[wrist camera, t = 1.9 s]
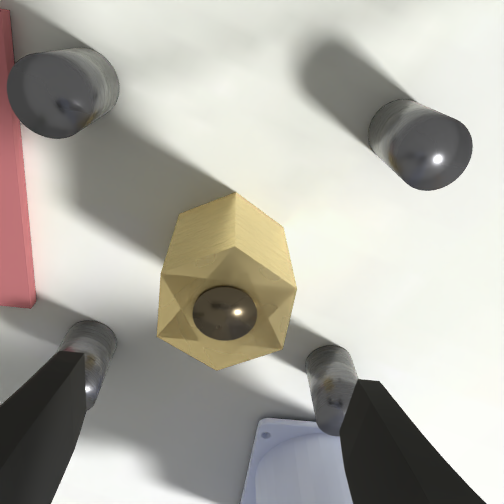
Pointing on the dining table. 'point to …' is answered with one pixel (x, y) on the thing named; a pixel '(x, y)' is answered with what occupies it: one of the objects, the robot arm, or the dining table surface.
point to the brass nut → (226, 284)
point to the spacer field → (103, 100)
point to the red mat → (12, 193)
